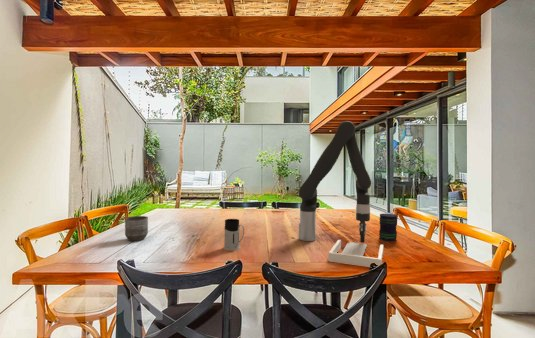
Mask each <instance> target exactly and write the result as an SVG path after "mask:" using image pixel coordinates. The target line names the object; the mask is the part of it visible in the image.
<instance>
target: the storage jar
mask: <svg viewBox="0 0 535 338" xmlns="http://www.w3.org/2000/svg"><path fill="white" fill-rule="evenodd" d="M397 225H398V215H397V214H393V213H379V230H378V235H379V238H378V239H379V240H380V241H383V242H388V243H391V242H392V243H394V242H397V237H398V231H397Z"/></svg>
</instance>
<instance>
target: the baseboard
mask: <svg viewBox="0 0 535 338" xmlns="http://www.w3.org/2000/svg"><path fill="white" fill-rule="evenodd" d="M367 247H368V243H361V242H359V240H356V239H355V240H354V241H351V240H349V239H348V242H346V245H345V247H344V248H343V249H342V252H341V253H342V254H349V255H357V256H364V254H365V252H366V250H365V249H367Z"/></svg>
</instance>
